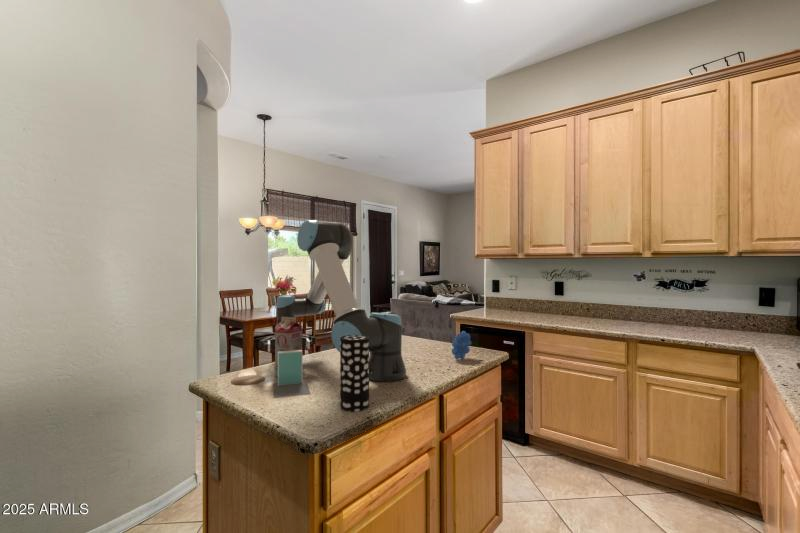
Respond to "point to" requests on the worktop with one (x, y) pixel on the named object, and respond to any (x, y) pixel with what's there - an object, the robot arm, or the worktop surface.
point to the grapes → (461, 345)
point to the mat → (290, 389)
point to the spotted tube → (354, 372)
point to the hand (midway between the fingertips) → (289, 346)
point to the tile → (289, 367)
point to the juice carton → (287, 337)
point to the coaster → (248, 380)
